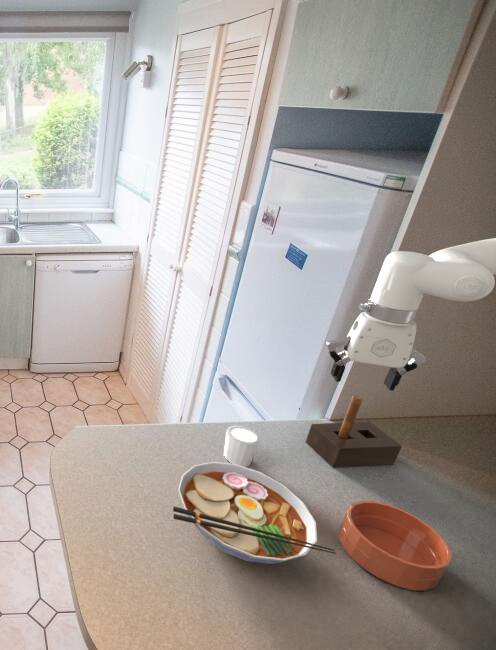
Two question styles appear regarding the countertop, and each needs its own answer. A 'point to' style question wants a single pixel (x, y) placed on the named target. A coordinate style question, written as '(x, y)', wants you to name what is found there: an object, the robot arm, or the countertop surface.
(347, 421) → the stick
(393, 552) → the baking dish
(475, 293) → the robot arm
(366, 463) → the holder
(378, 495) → the countertop surface
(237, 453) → the white short cylinder
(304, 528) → the ramen bowl
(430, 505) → the countertop surface
